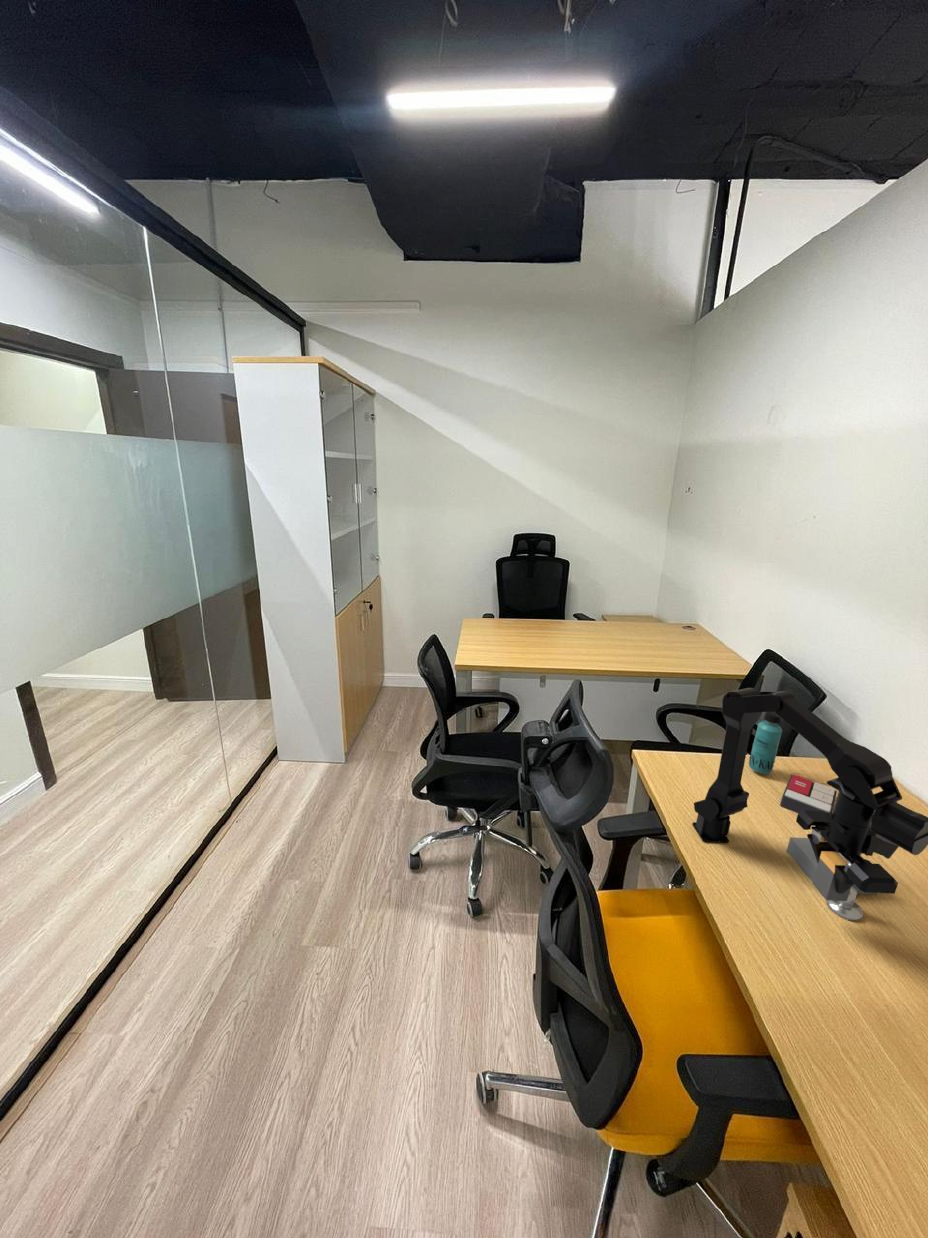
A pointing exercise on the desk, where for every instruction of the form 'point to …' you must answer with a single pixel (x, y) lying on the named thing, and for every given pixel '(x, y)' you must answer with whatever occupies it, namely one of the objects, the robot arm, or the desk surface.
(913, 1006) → the desk surface
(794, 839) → the frame
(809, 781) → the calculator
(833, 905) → the post
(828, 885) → the block
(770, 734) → the beverage bottle
